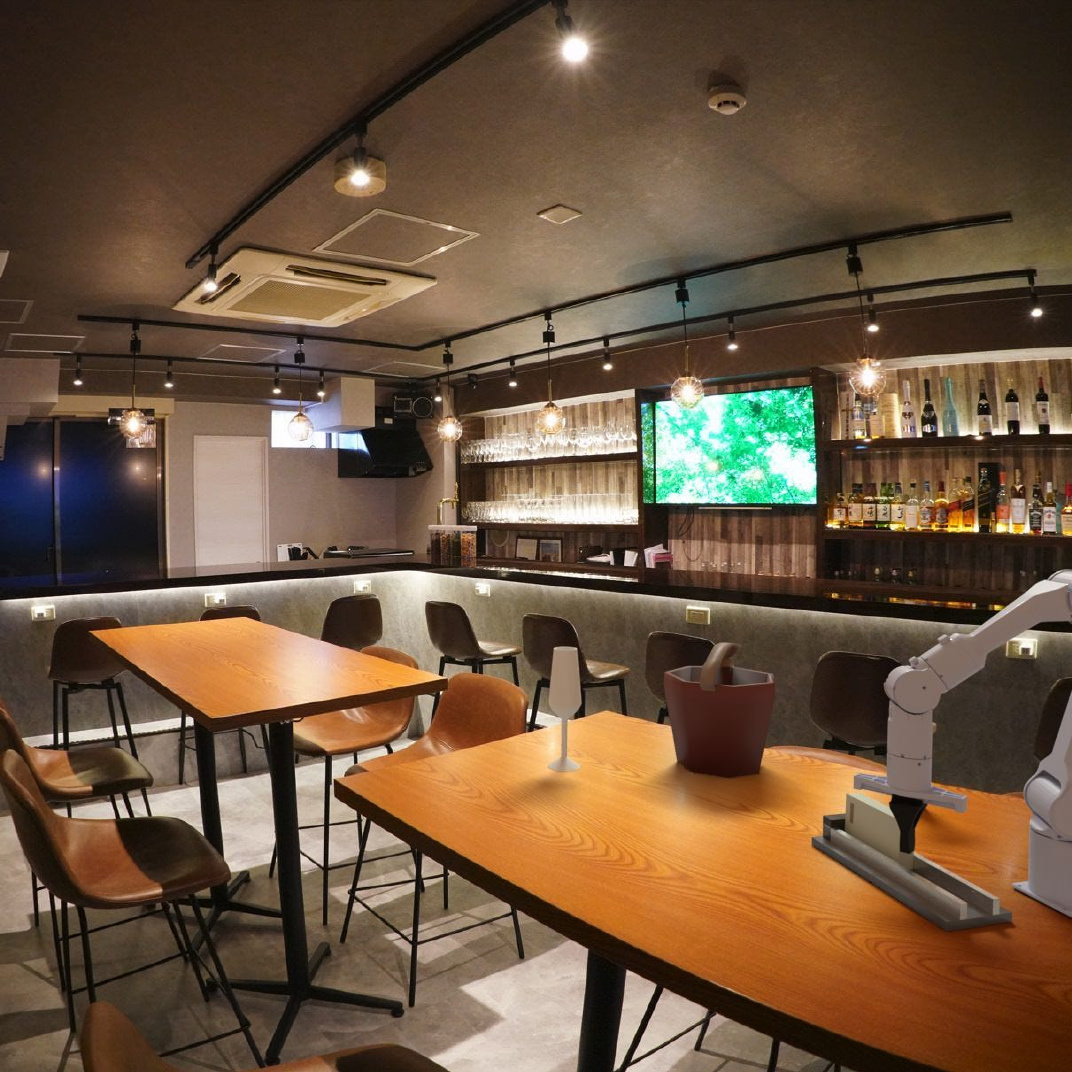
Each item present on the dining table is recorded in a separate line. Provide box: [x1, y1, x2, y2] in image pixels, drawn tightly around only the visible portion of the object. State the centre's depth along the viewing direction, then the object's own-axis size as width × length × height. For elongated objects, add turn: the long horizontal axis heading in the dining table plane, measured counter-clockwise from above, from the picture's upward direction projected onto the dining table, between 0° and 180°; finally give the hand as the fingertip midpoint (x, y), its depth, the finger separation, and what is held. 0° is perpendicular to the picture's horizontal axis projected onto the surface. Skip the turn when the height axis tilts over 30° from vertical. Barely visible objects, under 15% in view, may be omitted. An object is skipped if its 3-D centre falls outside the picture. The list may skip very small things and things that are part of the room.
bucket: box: [663, 642, 776, 779], centre depth 170 cm, size 24×22×25 cm
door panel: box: [845, 792, 915, 870], centre depth 123 cm, size 12×3×7 cm, turn 16°
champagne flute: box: [547, 646, 582, 772], centre depth 168 cm, size 7×7×24 cm
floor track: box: [811, 812, 1013, 932], centre depth 117 cm, size 28×10×4 cm, turn 16°
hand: (906, 850), depth 115 cm, fingers closed, pressing on door panel
